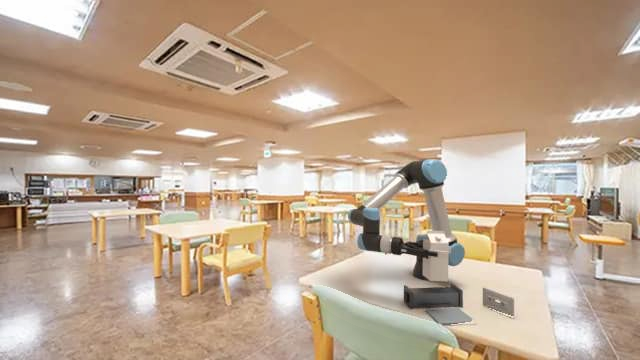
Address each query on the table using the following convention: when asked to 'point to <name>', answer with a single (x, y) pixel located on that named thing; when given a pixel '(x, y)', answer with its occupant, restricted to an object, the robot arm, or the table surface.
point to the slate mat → (449, 316)
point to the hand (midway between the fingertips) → (449, 252)
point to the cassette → (504, 305)
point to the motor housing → (433, 297)
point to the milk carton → (435, 266)
